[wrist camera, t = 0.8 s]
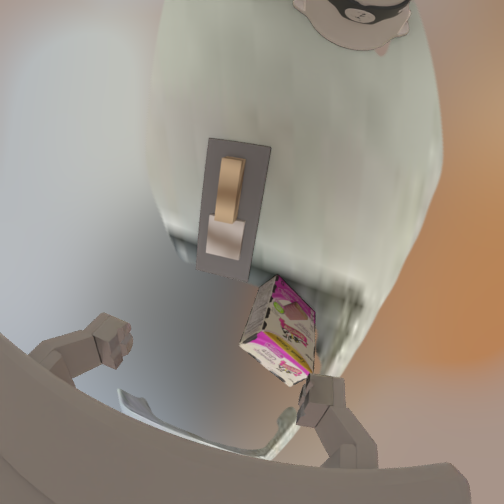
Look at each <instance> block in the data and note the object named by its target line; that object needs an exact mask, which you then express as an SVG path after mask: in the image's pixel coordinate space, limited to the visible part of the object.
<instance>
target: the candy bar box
mask: <svg viewBox="0 0 504 504" xmlns="http://www.w3.org/2000/svg"><path fill="white" fill-rule="evenodd" d="M315 314H316V313H315V312H314V311H313V310H312V309H311V308H310V307H309V306H308V305H307V304H306V303H305V302H304V301H303V300H302V299H301V298H300V297H299V296H298V295H297V294H296V293H295V291H294V290H293V289H292V288H291V287H290V286H289V285H288V284H287V283H286V282H285V281H284V280H283V279H282V278H281V277H280V276H279V275H278V274H277V275H276V276H274V277H273V278H272V279H271V280H269V281H268V282H266V283H265V284H264V285H262V286H261V287H259V290H258V293H257V296H256V299H255V302H254V305H253V307H252V310H251V313H250V316H249V318H248V321H247V324H246V327H245V330H244V332H243V335H242V338H241V340H240V343H239V346H240V347H241V348H243V349H244V350H245V351H246V352H247V353H248V354H250V355H251V356H252V357H253V358H255V359H256V360H257V361H258V362H259V363H261V364H262V365H263V366H264V367H265V368H267V369H268V370H269V371H270V372H271V373H273V374H274V375H275V376H276V377H278V378H279V379H280V380H281V381H283V382H284V383H285V384H286V385H288V386H289V387H291V386H293V385H295V384H297V383H299V382H301V381H303V380H304V379H306V378H307V376H308V374H309V373H313V374H314V355H315Z"/></svg>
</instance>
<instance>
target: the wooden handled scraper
mask: <svg viewBox="0 0 504 504" xmlns="http://www.w3.org/2000/svg"><path fill="white" fill-rule="evenodd" d="M245 162H246V159H242V158H236V157H230V156H227V157H223V158H222V161H221V169H220V176H219V184H218V192H217V200H216V209H215V214H212V213H211V214H210V215H209V225H208V235H207V245H206V253H209V254H213V255H218V256H222V257H226V258H230V259H235V260H239V259H240V255H241V248H242V242H243V235H244V229H245V223H246V220H241V219H237V216H238V209H239V202H240V195H241V189H242V182H243V175H244V169H245Z"/></svg>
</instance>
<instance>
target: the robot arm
mask: <svg viewBox="0 0 504 504" xmlns="http://www.w3.org/2000/svg"><path fill="white" fill-rule="evenodd" d="M410 1H411V0H293V6H294V7H295V8H296V9H297V10H299V11H300V12H301V13H303V14H304V15H306V16H307V17H308V19H309V20H310V22H311V23H312V25H313V26H314V28H315V29H316V30H317V31H318V32H319V33H320V34H321V35H322V36H323V37H325V38H326V39H328V40H329V41H331V42H333V43H335V44H337V45H339V46H342V47H345V48H348V49H353V50H372V49H376V48H379V47H381V46H383V45H385V44H386V43H388V42H389V41H390V40H391V39H393V38H395V37H401V36H405V35H407V33H408V32H409V26H408V18H409V17H410V15H411V11H410V10H409V3H410ZM130 331H131V325H130V324H129V323H127V322H125V321H123V320H120V319H118V318H116V317H113V316H111V315H108V314H106V313H101V314H100V315H99V316H98V317H97V318H96V319H94V321H92V322H91V323H90V324H89V325H88V326H87V327H86V328H85V329H84V330H83V331H82V330H79V331H75V332H72V333H69V334H65V335H62V336H58V337H55V338H51V339H48V340H44V341H42V342H41V343H40V344H39V345H38V346H37V347H36V348H35V349H34V350H33V351H32V352H31V353H30V354H28V355H27V354H25V353H24V352H23V351H22V350H20V349H19V348H18V347H17V346H15V345H14V344H13V343H12V342H11V341H9V340H8V339H7V338H6V337H5V336H3V335H2V334H1V333H0V504H471V493H470V487H469V483H468V481H467V479H466V478H465V477H464V476H463V475H462V474H461V473H460V471H459V470H457V469H456V468H455V467H454V466H453V465H452V464H451V463H447V462H445V463H437V464H430V465H422V466H413V467H402V468H387V469H386V468H385V469H378V453H377V444H376V443H375V442H374V440H373V439H372V438H371V436H370V435H369V434H368V432H367V431H366V430H365V429H364V427H363V426H362V425H361V423H360V422H359V421H358V420H357V418H356V417H355V416H354V414H353V413H352V411H351V410H350V409H349V408H346V402H345V383H344V379H343V378H339V377H331V376H326V375H320V374H313V373H309V374H308V376H307V378H306V384H304V385H303V387H302V390H301V393H300V397H299V403H298V405H299V406H300V409H299V410H298V412H297V421H296V425H300V426H306V427H312V428H315V430H316V432H317V434H318V436H319V438H320V440H321V442H322V444H323V446H324V448H325V450H326V452H327V453H328V455H329V457H330V458H328V459H327V460H326V462H324V464H322V465H321V466H320V467H313V466H304V465H295V464H288V463H281V462H275V461H269V460H264V459H259V458H254V457H249V456H245V455H240V454H236V453H232V452H228V451H224V450H220V449H217V448H213V447H210V446H206V445H203V444H200V443H197V442H194V441H191V440H188V439H185V438H182V437H179V436H176V435H173V434H171V433H168V432H165V431H163V430H160V429H158V428H155V427H153V426H150V425H148V424H145V423H143V422H141V421H138V420H136V419H134V418H132V417H130V416H127V415H125V414H123V413H121V412H119V411H117V410H115V409H113V408H111V407H109V406H107V405H105V404H103V403H101V402H99V401H97V400H96V399H94V398H92V397H90V396H89V395H87V394H85V393H83V392H81V391H80V390H78V389H76V387H75V384H74V382H73V380H72V378H74V377H76V376H78V375H81V374H83V373H84V372H87V371H89V370H91V369H93V368H95V367H97V366H99V365H101V363H102V364H104V365H106V366H109V367H111V368H113V369H117V368H118V366H119V365H120V364H121V362H122V361H123V356H125V355H128V353H129V352H130V351H131V348H132V345H133V337H132V335H131V334H130Z"/></svg>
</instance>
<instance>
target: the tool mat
mask: <svg viewBox="0 0 504 504" xmlns="http://www.w3.org/2000/svg"><path fill="white" fill-rule="evenodd" d="M270 152H271V147H266V146H261V145H255V144H249V143H242V142H235V141H228V140H221V139H213V138H209V142H208V149H207V157H206V165H205V174H204V182H203V192H202V201H201V211H200V222H199V234H198V246H197V260H196V270H200V271H204V272H208V273H212V274H216V275H219V276H223V277H227V278H232V279H236V280H240V281H244V282H248V278H249V272H250V267H251V261H252V255H253V250H254V244H255V238H256V232H257V227H258V221H259V215H260V209H261V204H262V198H263V192H264V186H265V181H266V175H267V169H268V163H269V158H270ZM227 156H230V157H236V158H242V159H246V162H245V169H244V175H243V182H242V189H241V195H240V202H239V209H238V216H237V219H241V220H246V223H245V229H244V235H243V242H242V248H241V255H240V259H239V260H235V259H230V258H226V257H222V256H218V255H213V254H209V253H206V245H207V235H208V225H209V215H210V214H211V213H212V214H215V209H216V200H217V192H218V184H219V176H220V169H221V161H222V158H223V157H227Z"/></svg>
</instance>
